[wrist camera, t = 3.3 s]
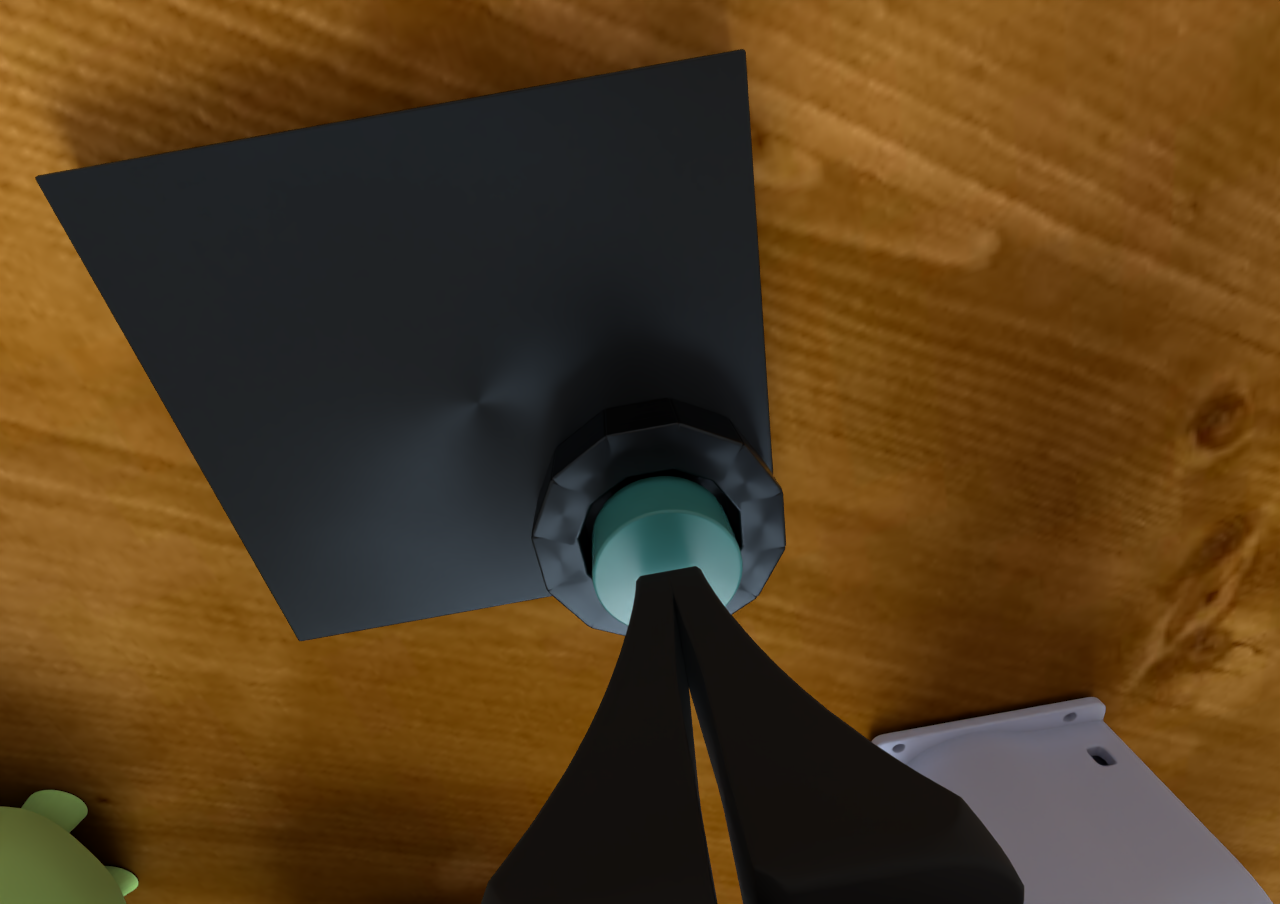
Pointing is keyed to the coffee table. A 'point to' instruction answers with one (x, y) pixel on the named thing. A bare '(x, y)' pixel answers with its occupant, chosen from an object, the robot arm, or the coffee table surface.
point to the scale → (453, 334)
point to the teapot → (54, 856)
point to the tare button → (661, 540)
